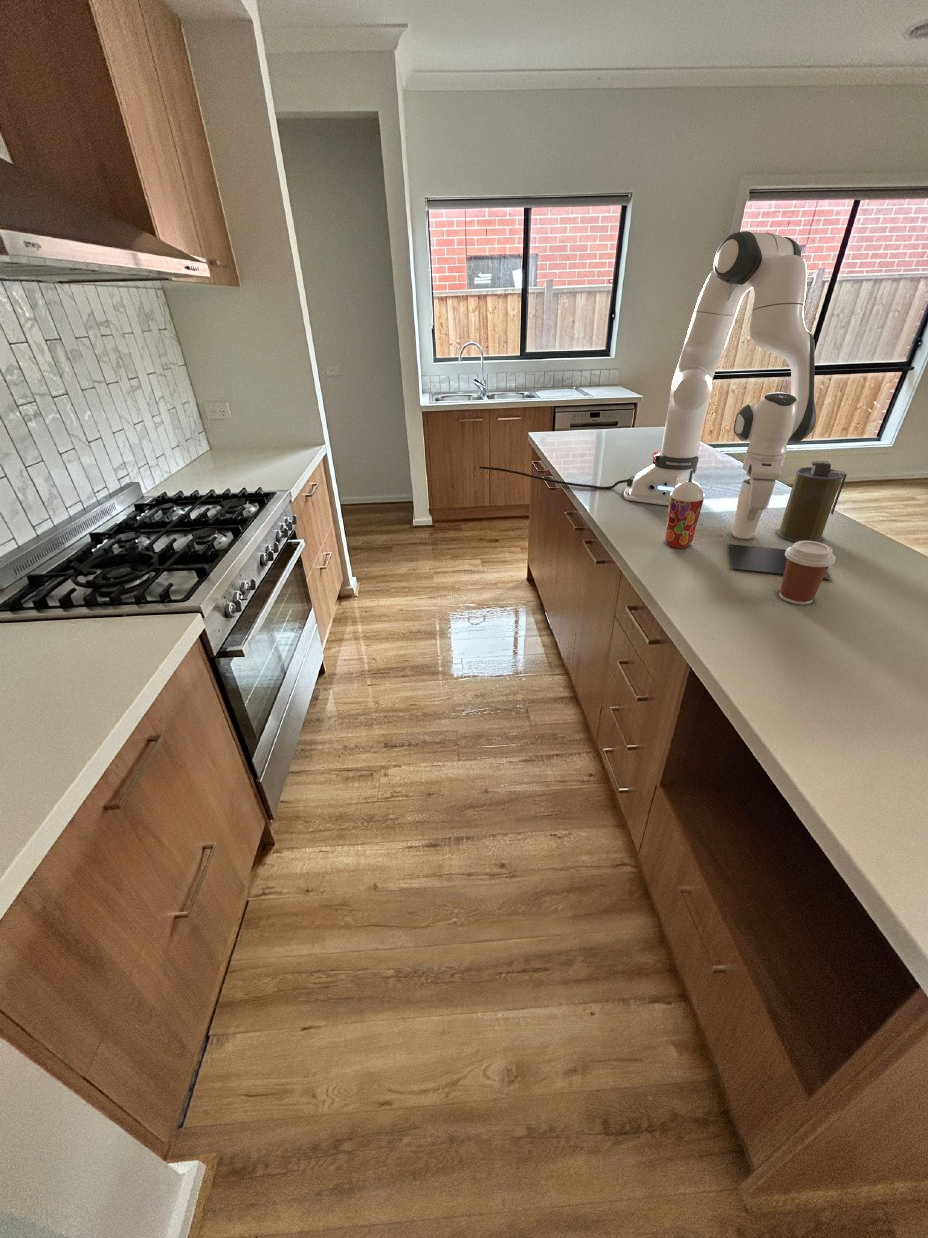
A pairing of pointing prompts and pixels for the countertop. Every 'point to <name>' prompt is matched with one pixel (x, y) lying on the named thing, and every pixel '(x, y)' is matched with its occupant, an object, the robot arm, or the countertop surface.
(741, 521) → the white tapered cylinder
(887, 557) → the countertop surface
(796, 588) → the coffee cup
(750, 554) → the place mat
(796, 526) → the canister
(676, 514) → the smoothie
